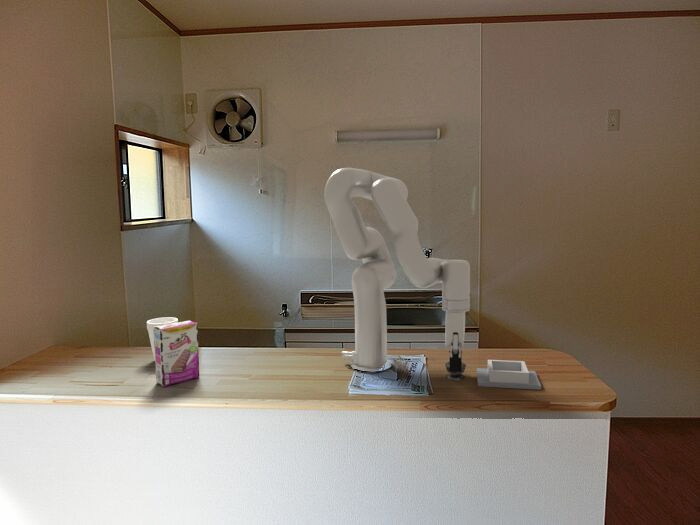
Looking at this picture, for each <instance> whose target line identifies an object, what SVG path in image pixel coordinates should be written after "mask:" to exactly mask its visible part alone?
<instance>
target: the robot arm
mask: <svg viewBox="0 0 700 525" xmlns="http://www.w3.org/2000/svg"><path fill="white" fill-rule="evenodd" d="M323 192H324V194H323V195H324V197H323V198H324V201H325V205H326V206H325V207H326V208H327V210H328V213H329V215H330V218H331V220H332V223H333V224H334V228H335V231H336V233H337V237H338V238H339V241H340V244H341V247H342V249H343V252H344V254H345V256H347V258H349V260H353V261H362V264H360V265H359V266H357V267H356V268H355V270H354V271H353V272H352V276H351V290H352V294H353V304H354V305H353V306H354V307H353V308H354V336H355V337H354V342H355V343H354V345H355V346H354V347H355V348H354V350H352V351H347V350H346V351H344V350H342V351H341V358H343V359H344V360H351V361H350V367H352V369H353V370H354V369H358V370H364V371H374V370H379V369H381V368H383V367H382V366H383V365H384V364H385V363H386V362H387V359H388V347H387V346H388V339H387V337H388V332H387V331H388V327H387V326H388V322H387V302H386V297H385V292H384V291H385V290H387V289H388V288H390V287H392V286H393V285H394V283H395V281H396V278H397V271H396V268H395V264H394V261H393V258H392V256H391V254H390V251H389V249H388V247H387V243H386V241H385V238H384V237H383V235H382V234H381V233H380V232H379V231H378V230H377V229H376V228H373V227H371V226H366V224H365V222H364V220H363V218H362V217H363V216H362V214H361V212H360V210H359V209H358V207H357V205H356V204H355V202H354V200H353V198H363V199H366V200H369V201H372V203H373V204H374V207H375V208H376V209H377V211H378V213H379V215H380V216H381V219H382V220H383V222H384V224H385V226H386V228H387V229H388V231H389V233H390V235H391V238H392V245H393V247H394V251H395V255H396V256H395V257H396V258H397V260H398V262H399V264H400V266H401V268H402V271H403V272H404V273H405V275H406V277H407V278H408V280H409V281H410V282H411V284H412V285H414V286H415V287H417V288H420V289H427V288H429V287H432V286H433V285H436V284H441V292H442V293H441V306H442V307H441V311H444V312H445V320H444V323H445V324H444V325H445V326H444V327H445V329H444V330H445V336H444V338H445V340H444V343H445V344H444V346H445V347H446V348H448V347H450V348H451V351H450V350H449V351H450V353H449V361H450V372H461V369H462V363H463V361H462V360H463V358H462V357H463V356H462V354H463V351H462V348H463V347H464V342H465V331H466V312H469V311H470V309H471V304H470V303H471V299H470V298H471V265H470V262H469V261H468V260H465V259H443V258H438V257H427V256H426V254H425V252H424V250H423V249H422V246H421V244H420V241H419V236H418V233H419V232H418V231H419V220H418V218H417V216H416V215H415V213H414V211H413V210H412V207H411V206H410V204H409V202H408V200H407V199H408V197H409V190H408V187H407V185H406V184H405V183H404V182H403V180H400V179H399V178H396V177H392V176H387V175H384V174H381V173H377V172H374V171H371V170H367V169H363V168H354V167H342V168H339V169H337V170H335V171H333V173H331V175H330V176H329V178H328V179H327V181H326V184H325V186H324V191H323ZM450 344H451V346H450ZM452 344H453V346H452ZM458 344H459V346H458ZM450 348H449V349H450ZM452 349H453V350H452ZM458 349H459V350H458ZM461 351H462V353H461Z"/></svg>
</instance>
